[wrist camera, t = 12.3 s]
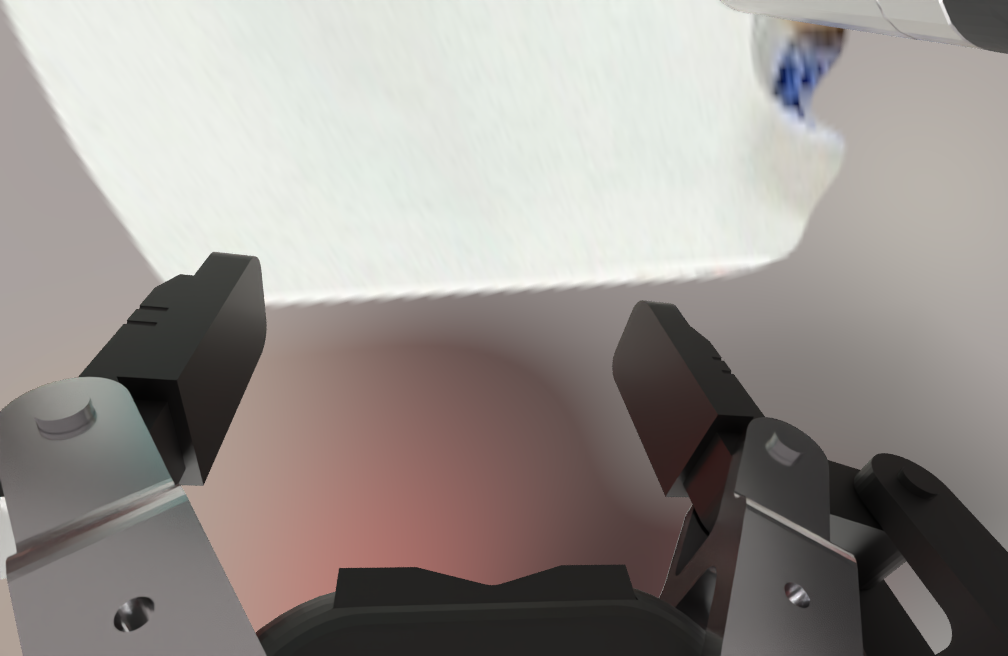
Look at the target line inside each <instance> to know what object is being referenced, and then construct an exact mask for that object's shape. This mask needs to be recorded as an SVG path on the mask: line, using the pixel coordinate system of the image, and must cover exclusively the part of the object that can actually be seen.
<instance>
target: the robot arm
mask: <svg viewBox="0 0 1008 656" xmlns="http://www.w3.org/2000/svg"><path fill="white" fill-rule="evenodd" d="M720 1H721V2H722V3H724V4H725V5H727V6H729V7H730V8H732V9H734V10H737V11H741V12H745V13H750V14H756V15H763V16H769V17H774V18H780V19H786V20H792V21H799V22H805V23H812V24H818V25H825V26H831V27H838V28H844V29H851V30H857V31H864V32H870V33H877V34H883V35H890V36H896V37H903V38H909V39H916V40H925V41H931V42H938V43H944V44H951V45H958V46H964V47H970V48H977V49H984V50H989V51H994V52H1000V53H1006V54H1008V0H720ZM265 338H266V313H265V303H264V293H263V283H262V273H261V265H260V262H259V259H258V258H257V257H255V256H247V255H238V254H229V253H220V252H213V253H211V254H210V255H209V257H208V258H207V259H206V261H205V262H204V263H203V264H202V266H201V267H200V268H199V270H198V271H197V272H196V274H195V275H194V276H192V275H182V274H180V275H178V276H176V277H174V278H172V279H170V280H169V281H167V282H165V283H163V284H161V285H159V286H157V287H155V288H154V289H153V291H152V292H151V293H150V294H149V295H148V296H147V298H146V299H145V300H144V301H143V302H142V303H141V305H140V309H136V310H135V312H134V313H133V314H132V315H131V316H130V317H129V318H128V320H127V324H123V326H122V327H121V328H120V329H119V330H118V331H117V332H116V334H115V335H114V336H113V337H112V338H111V340H110V341H109V342H108V343H107V344H106V345H105V346H104V347H103V349H102V350H101V351H100V352H99V353H98V354H97V356H96V357H95V358H94V359H93V360H92V361H91V363H90V364H89V365H88V366H87V368H85V370H84V371H83V372H82V373H81V374H80V375H79V377H76V378H70V379H64V380H60V381H55V382H52V383H48V384H45V385H42V386H40V387H37V388H35V389H32V390H30V391H28V392H26V393H24V394H23V395H21V396H19V397H18V398H16V399H14V400H13V401H11V402H10V403H9V404H8V405H7V406H5V407H4V408H3V409H2V410H1V411H0V579H4V578H7V581H8V586H9V591H10V596H11V601H12V606H13V610H14V615H15V620H16V625H17V629H18V634H19V639H20V644H21V648H22V653H23V656H1008V552H1007V551H1006V550H1005V549H1004V548H1003V547H1002V546H1001V544H1000V543H999V542H998V541H997V540H996V539H995V538H994V537H993V536H992V535H991V534H990V533H989V531H988V530H987V529H986V528H985V527H984V526H983V525H982V524H981V523H980V522H979V521H978V520H977V519H976V517H975V516H974V515H973V514H972V513H971V512H970V511H969V510H968V509H967V508H966V507H965V506H964V505H963V504H962V502H961V501H960V500H959V499H958V498H957V497H956V496H955V495H954V494H953V493H952V492H951V491H950V489H948V488H947V486H946V485H944V483H943V482H941V481H940V480H939V479H938V478H937V477H935V476H934V475H933V474H931V473H930V472H929V471H927V470H926V469H924V468H923V467H921V466H919V465H917V464H916V463H914V462H912V461H910V460H908V459H905V458H903V457H900V456H897V455H893V454H885V453H882V454H877V455H875V456H874V457H873V458H872V459H871V460H870V461H869V462H868V463H867V464H866V465H865V466H864V467H863V468H862V469H861V470H858V469H855V468H852V467H849V466H845V465H842V464H839V463H836V462H832V461H829V460H827V457H826V456H825V454H824V452H823V451H822V449H821V448H820V447H819V446H818V445H817V444H816V442H815V441H813V440H812V439H811V438H810V437H809V436H808V435H806V434H805V433H804V432H802V431H801V430H799V429H798V428H796V427H794V426H792V425H790V424H788V423H786V422H783V421H781V420H778V419H774V418H768V417H765V416H764V415H763V414H762V412H761V411H760V410H759V408H758V407H757V405H756V404H755V403H754V401H753V400H752V398H751V397H750V396H749V395H748V393H747V392H746V390H745V389H744V388H743V386H742V385H741V383H740V382H739V381H738V379H737V378H736V377H735V375H734V374H731V370H730V368H729V367H728V366H727V364H726V363H725V362H724V361H721V356H720V355H719V354H718V352H717V351H716V349H715V348H714V347H713V345H712V344H711V343H710V341H708V340H707V339H706V338H705V337H703V336H702V335H701V334H700V333H698V332H697V331H696V330H695V329H693V328H692V327H690V325H689V324H688V323H687V321H686V320H685V318H684V317H683V316H682V314H681V313H680V311H679V310H678V308H677V307H676V306H675V305H673V304H669V303H661V302H652V301H639V302H638V303H637V304H636V305H635V307H634V308H633V310H632V313H631V315H630V317H629V320H628V322H627V325H626V327H625V329H624V332H623V334H622V337H621V339H620V341H619V344H618V346H617V349H616V351H615V353H614V357H613V365H612V367H613V368H612V369H613V376H614V380H615V382H616V384H617V387H618V389H619V391H620V394H621V396H622V398H623V400H624V403H625V405H626V407H627V410H628V412H629V414H630V417H631V419H632V421H633V423H634V426H635V428H636V430H637V433H638V435H639V437H640V439H641V442H642V444H643V446H644V449H645V451H646V453H647V455H648V458H649V460H650V462H651V464H652V467H653V469H654V471H655V474H656V476H657V478H658V481H659V483H660V485H661V487H662V490H663V492H664V494H665V497H689V498H690V499H691V502H692V504H693V505H692V506H691V507H690V509H689V510H688V512H687V514H686V516H685V519H684V522H683V525H682V529H681V532H680V535H679V539H678V542H677V545H676V549H675V552H674V555H673V559H672V562H671V565H670V569H669V572H668V575H667V579H666V582H665V585H664V588H663V590H662V593H661V595H660V597H659V598H657V597H655V596H653V595H651V594H648V593H645V592H643V591H640V590H638V589H634V588H632V584H631V581H630V578H629V575H628V572H627V569H626V566H625V565H567V566H566V565H561V566H558V567H555V568H552V569H549V570H545V571H542V572H538V573H535V574H532V575H529V576H526V577H522V578H519V579H516V580H513V581H510V582H506V583H503V584H499V585H485V584H481V583H477V582H473V581H469V580H465V579H461V578H457V577H453V576H449V575H445V574H441V573H437V572H433V571H429V570H425V569H421V568H417V567H397V568H396V567H395V568H339V573H338V579H337V586H336V592H333V593H329V594H326V595H323V596H319V597H317V598H314V599H312V600H309V601H307V602H305V603H302V604H300V605H298V606H296V607H294V608H293V609H291V610H289V611H287V612H285V613H283V614H281V615H280V616H278V617H277V618H275V619H274V620H273V621H271V622H269V623H268V624H267V625H265V626H264V627H262V628H261V629H259V630H258V631H257V632H256V633H255V632H254V629H253V628H252V625H251V623H250V622H249V619H248V618H247V615H246V613H245V611H244V609H243V608H242V606H241V603H240V601H239V600H238V597H237V596H236V593H235V592H234V590H233V588H232V586H231V584H230V582H229V580H228V578H227V576H226V574H225V572H224V570H223V568H222V566H221V564H220V562H219V560H218V558H217V556H216V554H215V552H214V550H213V548H212V546H211V544H210V542H209V540H208V538H207V536H206V534H205V532H204V530H203V528H202V526H201V524H200V522H199V520H198V518H197V516H196V514H195V512H194V510H193V508H192V506H191V504H190V502H189V500H188V498H187V496H186V494H185V492H184V490H183V489H182V487H181V485H195V486H197V485H199V486H203V485H204V483H205V481H206V479H207V476H208V474H209V472H210V469H211V467H212V465H213V462H214V460H215V458H216V456H217V454H218V451H219V449H220V447H221V444H222V442H223V440H224V438H225V435H226V433H227V431H228V429H229V426H230V424H231V422H232V419H233V417H234V415H235V413H236V410H237V408H238V406H239V404H240V401H241V399H242V397H243V395H244V392H245V390H246V388H247V385H248V383H249V381H250V379H251V376H252V374H253V372H254V369H255V367H256V365H257V363H258V360H259V358H260V356H261V353H262V351H263V348H264V344H265ZM906 561H907V562H908V563H909V565H910V566H911V567H912V569H913V570H914V571H915V573H916V574H917V576H918V577H919V578H920V579H921V581H922V582H923V584H924V585H925V586H926V588H927V589H928V590H929V592H930V593H931V594H932V596H933V597H934V598H935V600H936V601H937V602H938V604H939V605H940V607H941V608H942V609H943V611H944V612H945V614H946V615H947V617H948V619H949V622H950V624H951V629H952V640H951V643H950V645H949V646H948V647H947V648H946V649H945V650H943V651H941V652H940V653H938V654H936V655H935V654H934V652H933V651H932V649H931V648H930V647H929V645H928V644H927V642H926V641H925V639H924V638H923V636H922V635H921V633H920V632H919V630H918V629H917V628H916V626H915V625H914V623H913V622H912V620H911V619H910V617H909V616H908V614H907V613H906V611H905V610H904V609H903V607H902V606H901V604H900V603H899V601H898V600H897V598H896V597H895V595H894V594H893V592H892V591H891V589H890V588H889V586H888V585H887V584H886V582H885V581H884V578H886V577H887V576H888V575H889V574H891V573H892V572H893V571H895V570H896V569H897V568H898V567H900V566H901V565H902V564H903V563H905V562H906Z"/></svg>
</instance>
